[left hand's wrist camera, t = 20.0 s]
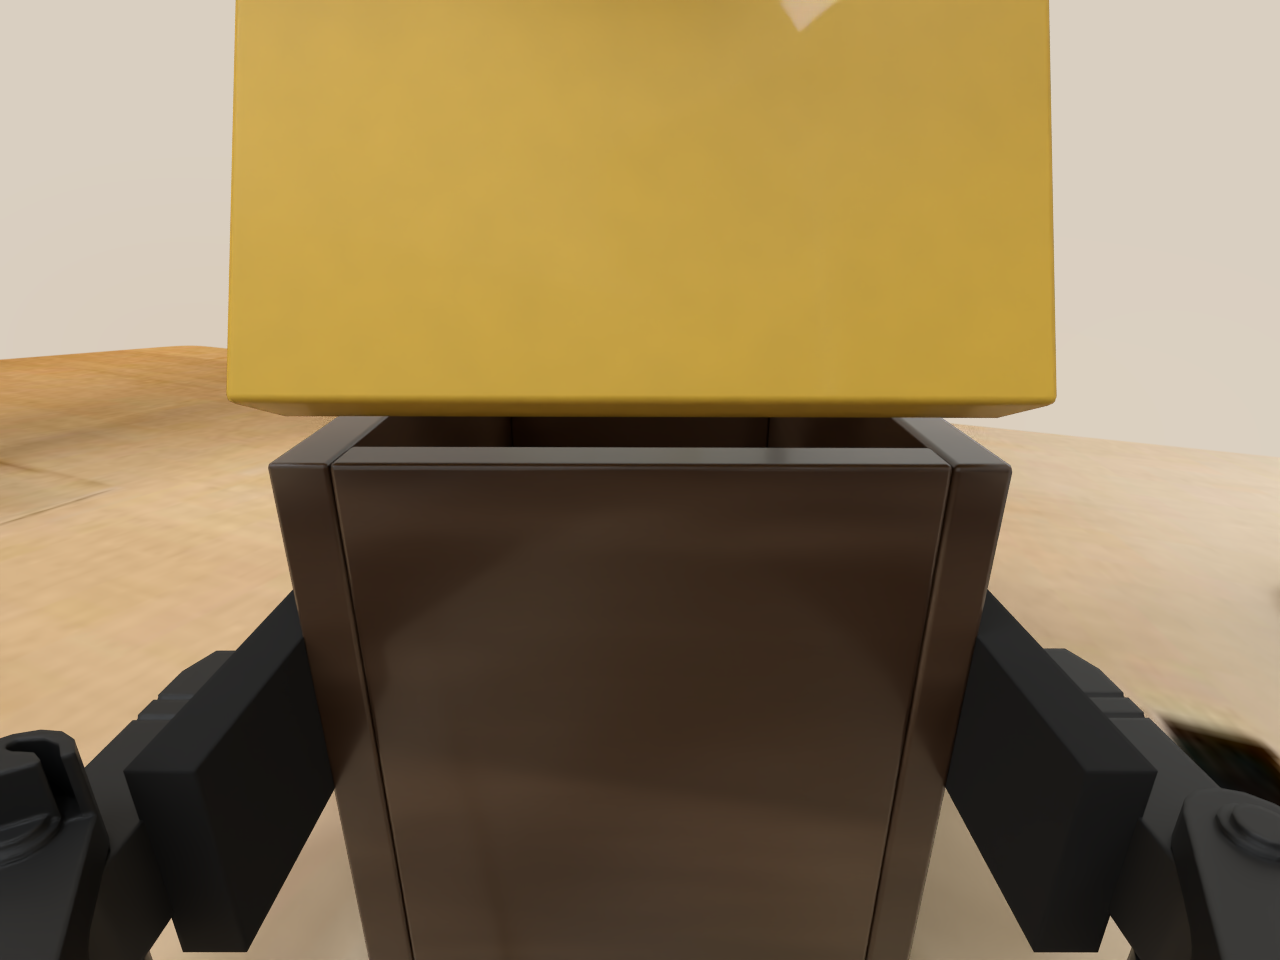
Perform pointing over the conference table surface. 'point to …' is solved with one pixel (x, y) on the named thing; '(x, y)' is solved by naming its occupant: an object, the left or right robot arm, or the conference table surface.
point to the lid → (642, 208)
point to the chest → (639, 675)
